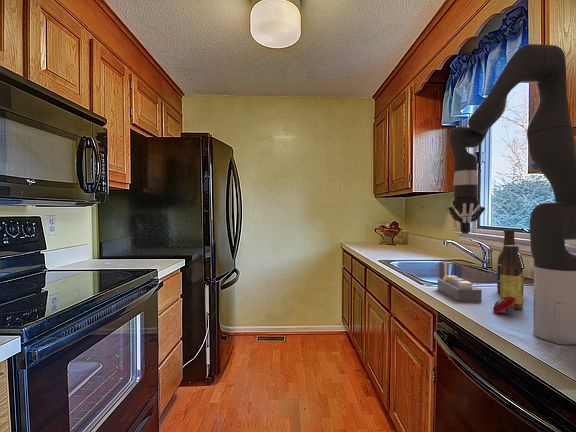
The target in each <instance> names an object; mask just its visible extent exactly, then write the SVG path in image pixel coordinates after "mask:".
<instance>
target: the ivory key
mask: <svg viewBox="0 0 576 432" xmlns="http://www.w3.org/2000/svg"><path fill="white" fill-rule="evenodd" d="M472 286H473V283H472V282H470V281H468V280H465V281H458V287H459V288H461V289H472Z"/></svg>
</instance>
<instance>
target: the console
mask: <svg viewBox="0 0 576 432" xmlns="http://www.w3.org/2000/svg"><path fill="white" fill-rule="evenodd" d="M437 291H439V292H441V293H443V294H444V295H446V296H448V297H449V298H451V299H454V301H456V302H482V296H483V295H482V292H483V291H482V289H480V288H478V287H476V286H474V285H472V289H461V288H459V287H458V285H453V284H451V282H447V281H446V278H445V279H442V278H440V279H439V278H437Z"/></svg>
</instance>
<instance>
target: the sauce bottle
mask: <svg viewBox="0 0 576 432" xmlns="http://www.w3.org/2000/svg"><path fill="white" fill-rule="evenodd" d="M503 247H504V261H503V263H502V264H501V266H500V293H499V297H500V298H499V300H500V299H502V298H504V297H513V298H516V300H515V303H514V304H512V305H511V306H510V307H511V308H513V309H514V310H521V309H523V306H524V305H523V304H524V270H523V268H522V265H521V264H522V263H521V264H520V262H519V259H518V255H519V250H520V248H519V246H518V245H515V246H514V245H504V244H503Z"/></svg>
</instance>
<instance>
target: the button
mask: <svg viewBox="0 0 576 432" xmlns="http://www.w3.org/2000/svg"><path fill="white" fill-rule="evenodd" d="M515 300H516V298H513V297H504V298H502V299H500V298H499V300H497V301H496V302H495V304H494V305H493V308H492V310H493V313H494V314H499V313H501V312H503V311H505V313H506V314H507V315H508V316H509V315H513V314H514V313H515V309H513V308H511V307H510V306H511V305H512V304H514V303H515Z"/></svg>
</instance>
